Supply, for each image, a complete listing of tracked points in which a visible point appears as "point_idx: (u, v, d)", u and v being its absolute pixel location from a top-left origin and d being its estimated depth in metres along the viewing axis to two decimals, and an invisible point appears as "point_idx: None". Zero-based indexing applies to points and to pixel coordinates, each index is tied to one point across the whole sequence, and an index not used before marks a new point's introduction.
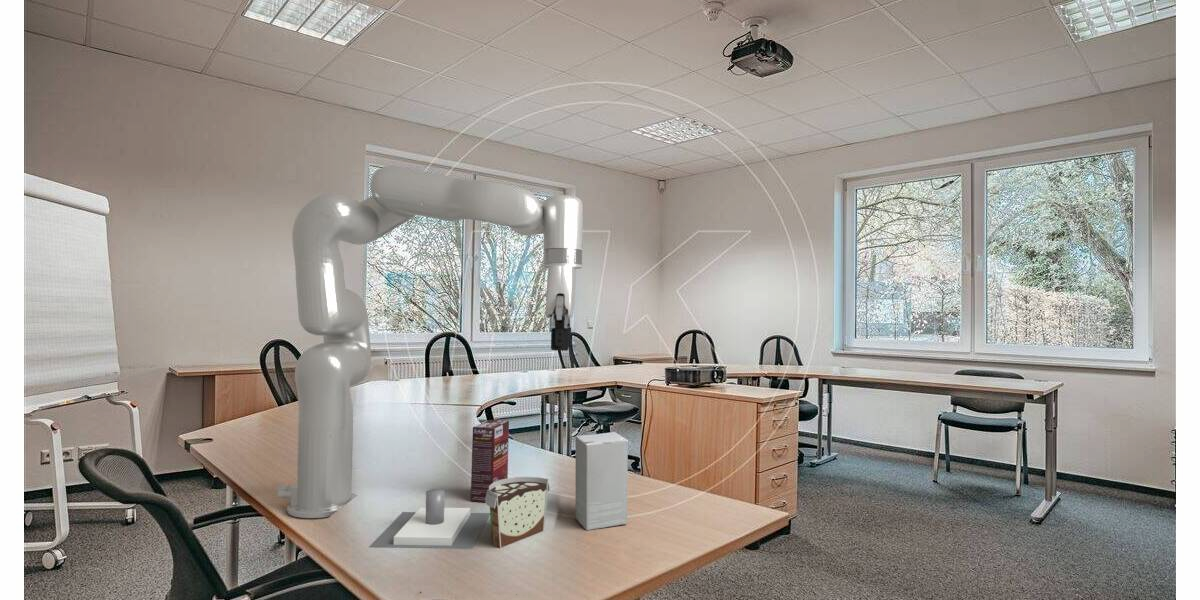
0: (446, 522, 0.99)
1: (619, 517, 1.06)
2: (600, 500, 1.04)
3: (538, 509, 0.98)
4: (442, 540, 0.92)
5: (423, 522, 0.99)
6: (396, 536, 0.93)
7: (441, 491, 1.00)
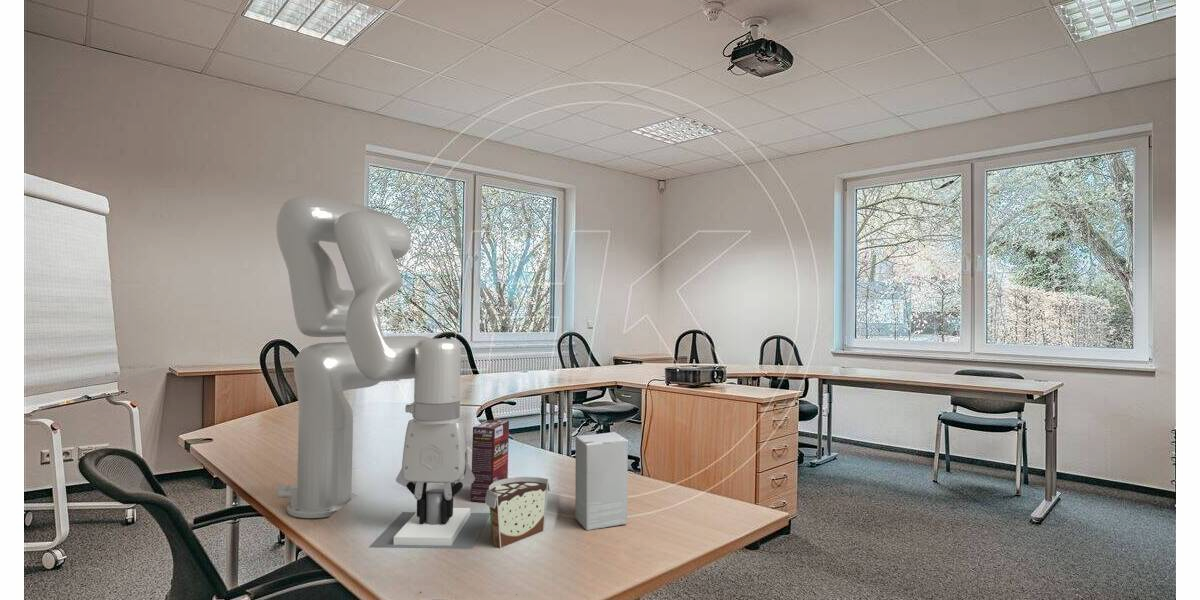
0: None
1: (619, 517, 1.06)
2: (600, 500, 1.04)
3: (538, 509, 0.98)
4: (442, 540, 0.92)
5: None
6: (396, 536, 0.93)
7: (441, 491, 1.00)
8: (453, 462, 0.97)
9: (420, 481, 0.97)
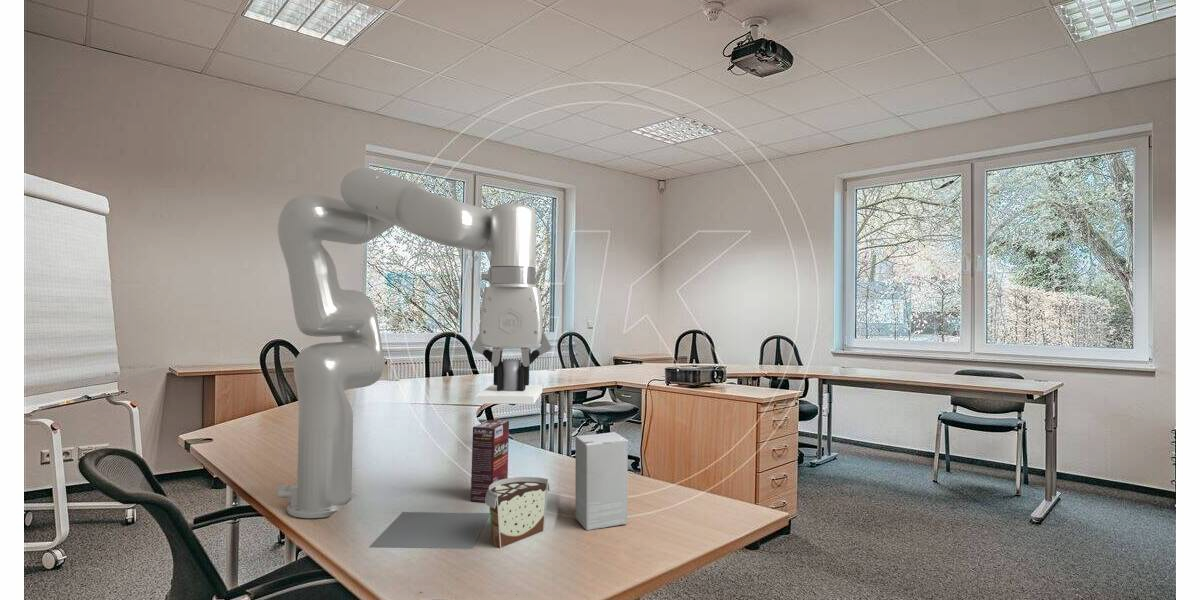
0: None
1: (619, 517, 1.06)
2: (600, 500, 1.04)
3: (538, 509, 0.98)
4: (525, 398, 0.91)
5: None
6: (477, 395, 0.91)
7: None
8: (531, 326, 0.95)
9: (498, 346, 0.95)
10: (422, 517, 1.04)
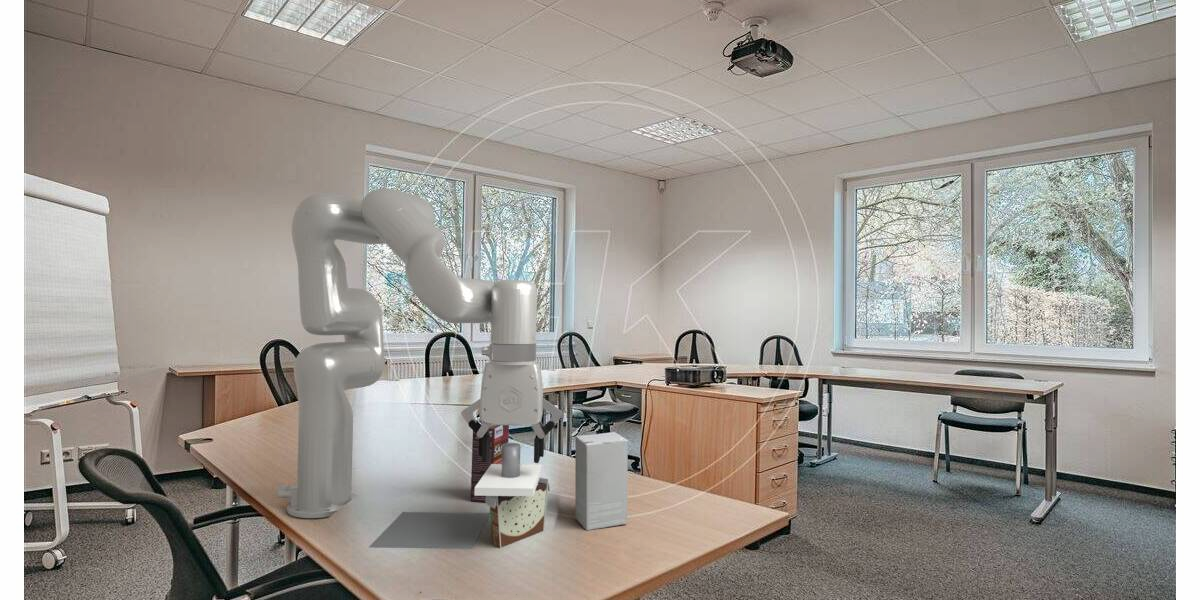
0: (523, 475, 0.97)
1: (619, 517, 1.06)
2: (600, 500, 1.04)
3: (538, 509, 0.98)
4: (524, 491, 0.91)
5: (499, 475, 0.97)
6: (477, 487, 0.91)
7: (517, 444, 0.98)
8: (532, 404, 0.95)
9: (498, 423, 0.95)
10: (422, 517, 1.04)
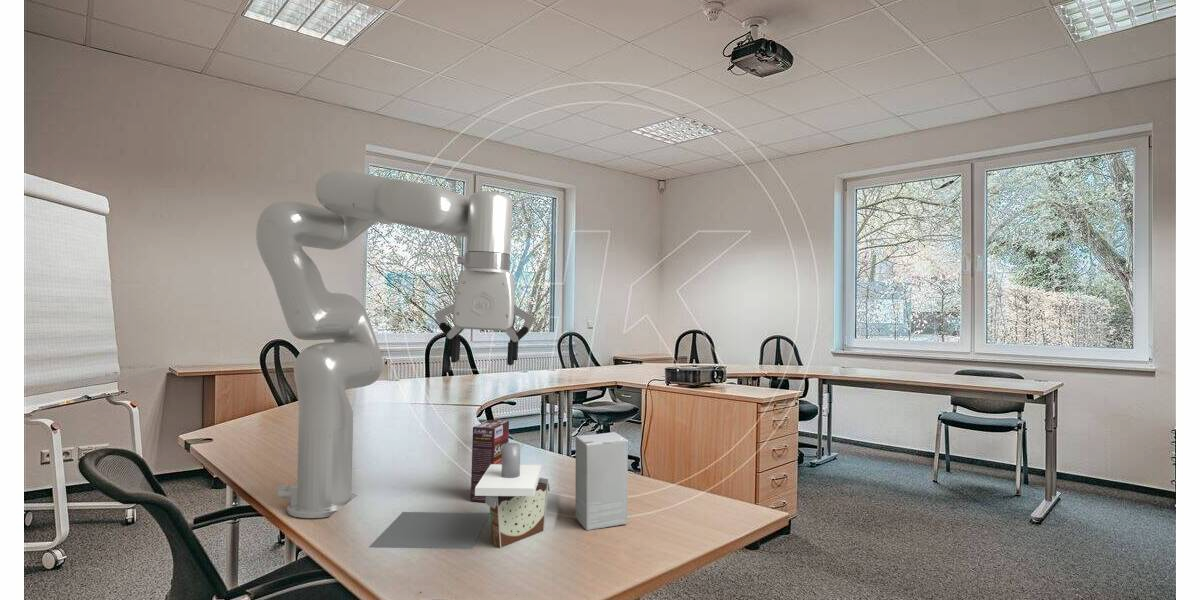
0: (523, 475, 0.97)
1: (619, 517, 1.06)
2: (600, 500, 1.04)
3: (538, 509, 0.98)
4: (524, 491, 0.90)
5: (499, 475, 0.97)
6: (477, 487, 0.91)
7: (517, 445, 0.98)
8: (503, 310, 0.99)
9: (470, 327, 0.99)
10: (422, 517, 1.04)
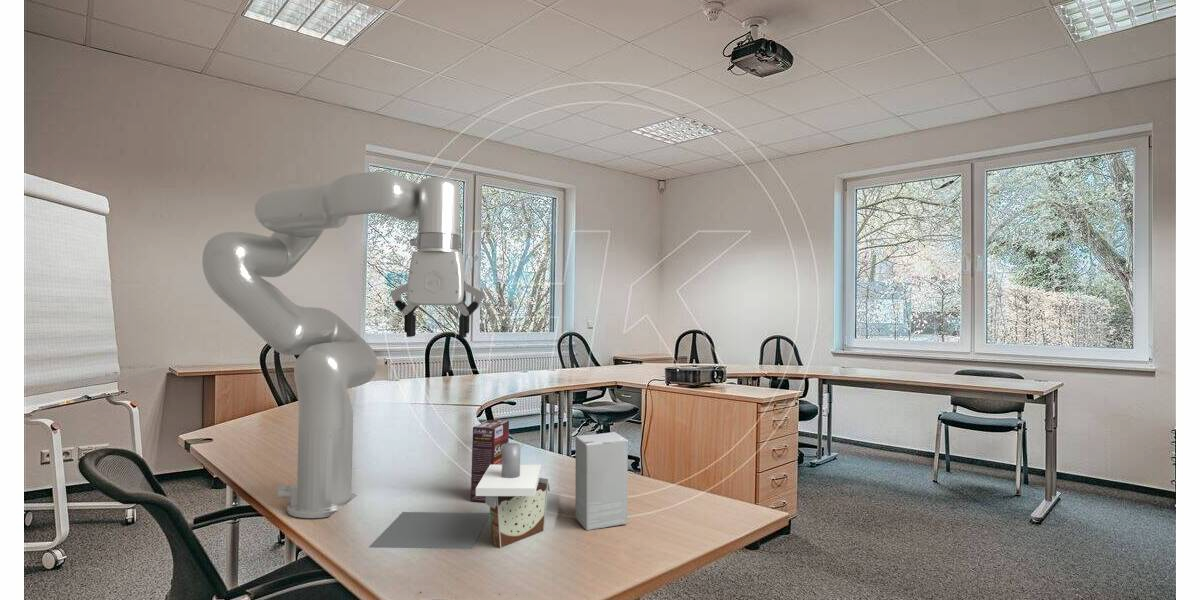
0: (523, 475, 0.97)
1: (619, 517, 1.06)
2: (600, 500, 1.04)
3: (538, 509, 0.98)
4: (525, 491, 0.90)
5: (499, 476, 0.97)
6: (478, 487, 0.91)
7: (517, 445, 0.98)
8: (453, 286, 1.07)
9: (423, 303, 1.07)
10: (422, 517, 1.04)
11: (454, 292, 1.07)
